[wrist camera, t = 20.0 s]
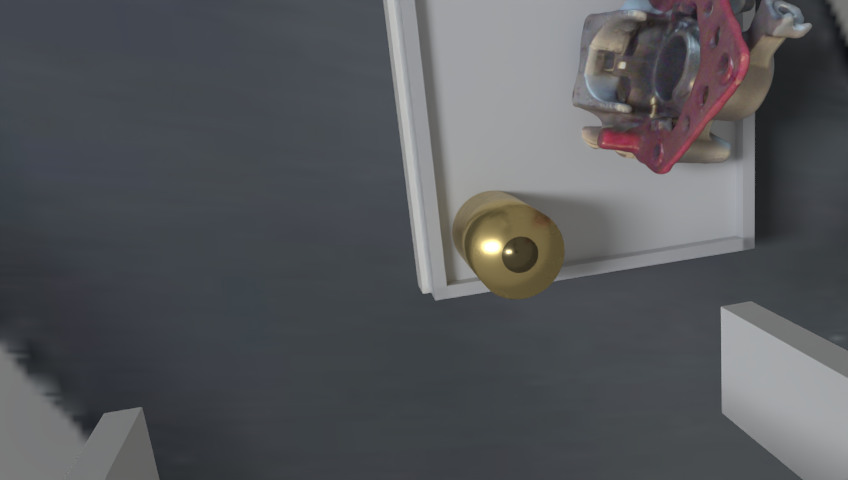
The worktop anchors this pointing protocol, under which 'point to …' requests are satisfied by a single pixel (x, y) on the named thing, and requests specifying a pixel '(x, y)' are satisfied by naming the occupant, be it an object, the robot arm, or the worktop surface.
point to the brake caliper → (677, 75)
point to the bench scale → (543, 144)
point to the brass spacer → (508, 244)
